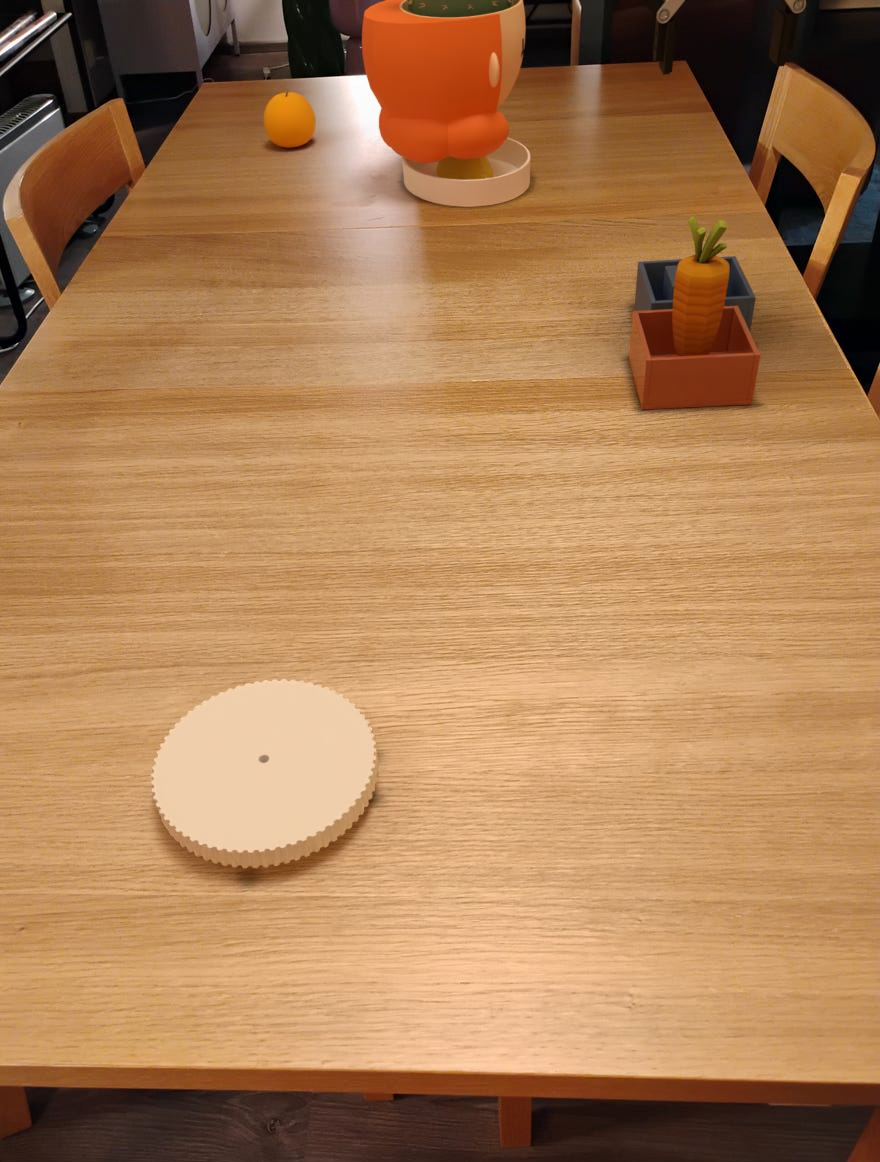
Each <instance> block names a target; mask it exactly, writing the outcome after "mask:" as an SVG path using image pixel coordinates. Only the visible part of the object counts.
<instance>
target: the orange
mask: <svg viewBox="0 0 880 1162" xmlns="http://www.w3.org/2000/svg"><path fill="white" fill-rule="evenodd" d="M316 121H317V120H316V115H315V111H314V109H313V107H312V105H311V104H310V102H309V101H308V100H307V99H306V97H304V96H303V95H301V94H299V93H297V92H295V91H294V92H293V91H291V92H289V91H286V92H281V93H278V94H276V95H274V96H273V97H272V98H271V99H270V100H269V101H268V102H267V105H266V107H265V109H264V113H263V125H264V126H263V127H264V129H265V132H266V135H267V137H268V138H269V140H270V141H271V142H272V143H273V144H274V145H276V146H278V147H281V148H287V149H288V148H290V149H292V148H297V147H301V146H303V145H305V144H307V143H308V142H310V140H311V139H312V137H313V136H314V133H315V129H316V126H317V125H316V124H317V123H316Z"/></svg>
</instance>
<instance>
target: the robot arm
mask: <svg viewBox="0 0 880 1162" xmlns="http://www.w3.org/2000/svg"><path fill="white" fill-rule="evenodd" d="M685 1H686V0H640V2H641V3H642V4H643V5H644V6H645V7H646V9H647V10H648V11H649V12H650V13H651V14H652V16H653V17H654V18H655V27H654V39H653V50H652V51H653V52H652V55H653V56H652V59H653V62H654V63H658V67H659V70H660V71H661V73H662V75H670V74H671V73H673V67H674V56H675V54H674V53H675V45H676V35H677V23H676V21H675V20H674V17H675V16H674V15H675V14H676V13H677V11H678V10H679V8H680V7H681V6H682V5H683V3H684V2H685ZM810 1H811V0H781V2H780V5H778V6H777V8H776V9H775V11H774V12H775V13H774V19H773V26H772V33H771V39H770V45H769V53H768V58H769V59H770V61H772V63H773V64H774V65H775V66H776V67H785V65H786V61H787V57H788V56H787V54H788V53H792V52H793V51H794V47H795V41H796V35H797V27H798V23H799V22H798V21H799V17H800V13H802V12H803V11H804V10H805V8H806V7H807V4H808V3H809V2H810Z"/></svg>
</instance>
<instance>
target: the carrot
mask: <svg viewBox="0 0 880 1162" xmlns="http://www.w3.org/2000/svg"><path fill="white" fill-rule="evenodd" d="M687 221H688V225H689V228H690V230H691V235H692V240H693V243H694V254H692V255H690V256H686V257H683V258H681V259H682V260H681V261H679V264H678V267H677V271H676V276H675V283H674V295H673V312H672V323H673V336H674V346H675V350H676V354H677V356H695V355H708V354H709V352H710V351H711V348H712V345H713V343H714V340H715V337H716V334H717V331H718V328H719V325H720V322H721V318H722V313H723V308H724V303H725V298H726V292H727V286H728V280H729V272H730V266H729V263H728V262H727V261H726V260H724V259H722V258H720V257H721V256H718V254H720V253H722V251H724V250H725V249H726V248H728V245H727V244H726V243H724V242H722V243H718V242H719V240H720V239H721V238H722V237H723V235H724V234H725V232H726V231H727V229H728V224H727V222H726V221H724V220H721V219H720V220H718V221H717V222H715V224H714V226H713V227H712V228H711V230H710V232H709V233H708V236H707V238H706V240H705V236H706V233H707V228H705V227H704V226H702V227H699V224H698V221H697V218H696V216H691V217H690V218H689V219H688V220H687ZM704 240H705V242H704ZM703 243H704V244H703ZM717 243H718V244H717ZM716 244H717V245H716Z"/></svg>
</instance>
